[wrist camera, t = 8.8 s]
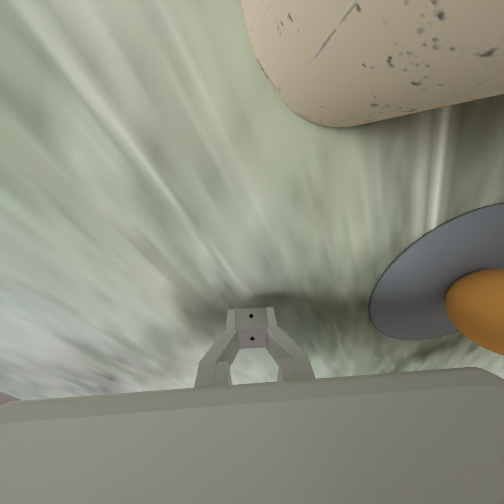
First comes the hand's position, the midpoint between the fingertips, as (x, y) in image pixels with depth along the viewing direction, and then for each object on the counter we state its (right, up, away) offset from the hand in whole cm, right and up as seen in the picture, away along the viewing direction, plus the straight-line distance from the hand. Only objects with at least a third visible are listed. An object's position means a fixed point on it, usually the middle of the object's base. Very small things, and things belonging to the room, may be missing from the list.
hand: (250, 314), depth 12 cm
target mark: (+16, +1, +2) cm, 16 cm away
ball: (+17, 0, 0) cm, 17 cm away
